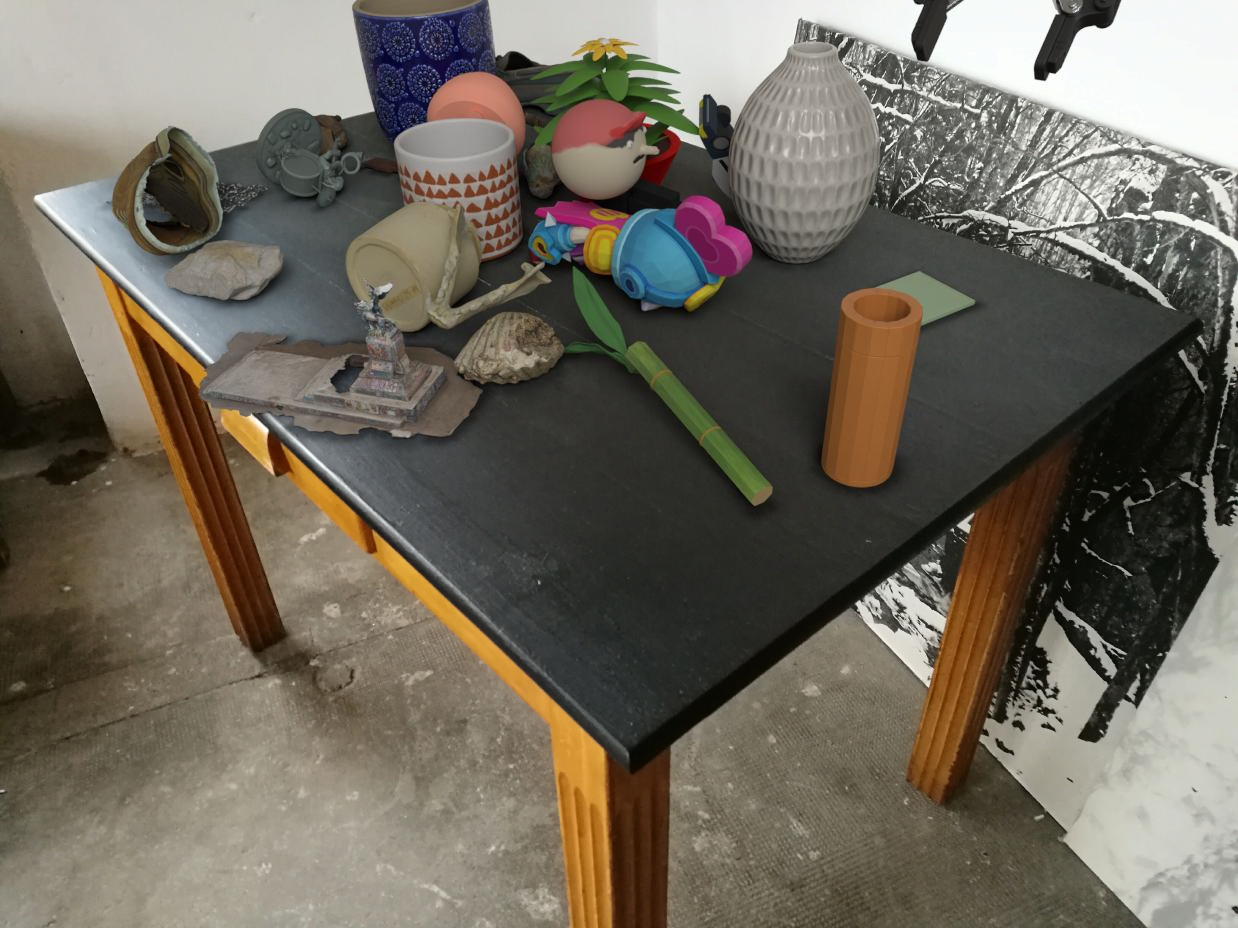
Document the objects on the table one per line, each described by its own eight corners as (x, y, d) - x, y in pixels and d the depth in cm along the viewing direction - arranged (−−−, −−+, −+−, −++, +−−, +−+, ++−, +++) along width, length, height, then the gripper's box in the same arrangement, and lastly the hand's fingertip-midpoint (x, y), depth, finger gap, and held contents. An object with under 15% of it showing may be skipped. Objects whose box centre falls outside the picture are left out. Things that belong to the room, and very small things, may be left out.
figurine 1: (317, 168, 132) (376, 208, 129) (255, 190, 125) (317, 233, 122) (317, 99, 125) (380, 140, 122) (252, 119, 118) (317, 163, 115)
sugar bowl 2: (401, 119, 111) (423, 69, 116) (471, 203, 120) (488, 153, 126) (480, 81, 105) (499, 30, 110) (547, 172, 114) (561, 121, 120)
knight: (544, 310, 109) (742, 355, 89) (486, 219, 100) (693, 246, 80) (603, 243, 113) (806, 272, 93) (553, 150, 104) (766, 159, 84)
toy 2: (701, 276, 104) (595, 234, 110) (717, 257, 106) (612, 216, 111) (700, 220, 97) (587, 178, 103) (718, 200, 99) (605, 160, 105)
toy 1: (649, 214, 94) (636, 116, 88) (547, 213, 98) (527, 120, 92) (680, 177, 101) (669, 84, 95) (583, 177, 105) (567, 89, 99)
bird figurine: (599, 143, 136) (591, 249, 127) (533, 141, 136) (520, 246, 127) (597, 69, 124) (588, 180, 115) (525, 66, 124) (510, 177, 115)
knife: (503, 213, 119) (524, 194, 122) (501, 205, 118) (522, 186, 121) (345, 177, 130) (367, 161, 133) (342, 170, 129) (365, 153, 132)
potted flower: (603, 156, 131) (595, 2, 118) (749, 196, 118) (757, 28, 105) (481, 215, 117) (457, 48, 104) (631, 268, 104) (624, 84, 91)
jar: (858, 435, 79) (883, 280, 69) (907, 471, 75) (940, 312, 66) (806, 458, 77) (824, 302, 67) (853, 496, 73) (880, 336, 63)
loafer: (481, 83, 160) (473, 26, 154) (626, 105, 148) (623, 45, 142) (443, 102, 153) (433, 44, 147) (592, 127, 141) (587, 65, 135)
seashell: (486, 330, 79) (419, 360, 86) (526, 399, 81) (458, 423, 88) (556, 281, 87) (490, 312, 94) (592, 346, 89) (525, 371, 96)
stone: (231, 254, 111) (165, 296, 106) (213, 214, 108) (143, 255, 102) (309, 277, 105) (244, 323, 99) (293, 235, 102) (224, 280, 96)
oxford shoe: (231, 166, 125) (174, 218, 128) (167, 109, 119) (108, 164, 121) (217, 262, 105) (150, 321, 107) (138, 199, 98) (68, 264, 101)
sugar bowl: (303, 219, 92) (396, 163, 102) (330, 313, 99) (415, 252, 109) (420, 246, 87) (507, 184, 96) (440, 344, 94) (519, 277, 104)
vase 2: (534, 220, 116) (526, 118, 108) (508, 269, 106) (498, 161, 97) (430, 214, 118) (415, 114, 110) (395, 263, 107) (375, 156, 99)
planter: (514, 164, 130) (496, 7, 117) (384, 181, 127) (350, 22, 114) (497, 122, 144) (479, -22, 131) (380, 136, 141) (350, -10, 128)
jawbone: (547, 297, 94) (567, 239, 88) (491, 376, 86) (510, 317, 80) (442, 243, 94) (455, 180, 88) (376, 316, 85) (386, 252, 79)
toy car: (716, 121, 101) (677, 139, 104) (778, 207, 113) (742, 222, 116) (716, 89, 104) (678, 107, 106) (777, 177, 115) (742, 191, 118)
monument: (156, 401, 87) (109, 281, 79) (253, 323, 98) (220, 212, 90) (441, 457, 80) (421, 332, 72) (510, 366, 91) (499, 250, 83)
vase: (827, 212, 114) (848, 19, 99) (892, 269, 101) (927, 59, 87) (705, 232, 110) (709, 37, 96) (757, 294, 98) (770, 81, 84)
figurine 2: (273, 112, 139) (321, 97, 144) (281, 141, 142) (328, 126, 147) (326, 131, 132) (375, 115, 137) (333, 161, 134) (381, 145, 139)
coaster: (918, 274, 101) (919, 270, 100) (974, 304, 95) (975, 300, 95) (863, 295, 98) (864, 291, 97) (918, 327, 92) (919, 323, 92)
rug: (268, 184, 126) (270, 191, 127) (153, 173, 132) (155, 179, 132) (223, 212, 119) (225, 218, 120) (103, 199, 124) (106, 205, 125)
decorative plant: (723, 504, 69) (538, 282, 85) (721, 558, 76) (550, 343, 92) (788, 467, 71) (594, 256, 87) (780, 524, 77) (602, 318, 93)
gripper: (966, -195, 64) (873, 21, 64) (1189, -191, 57) (1083, 50, 58) (977, -118, 70) (892, 77, 71) (1178, -106, 64) (1083, 110, 64)
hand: (978, 65), depth 64 cm, fingers open, 8 cm apart
